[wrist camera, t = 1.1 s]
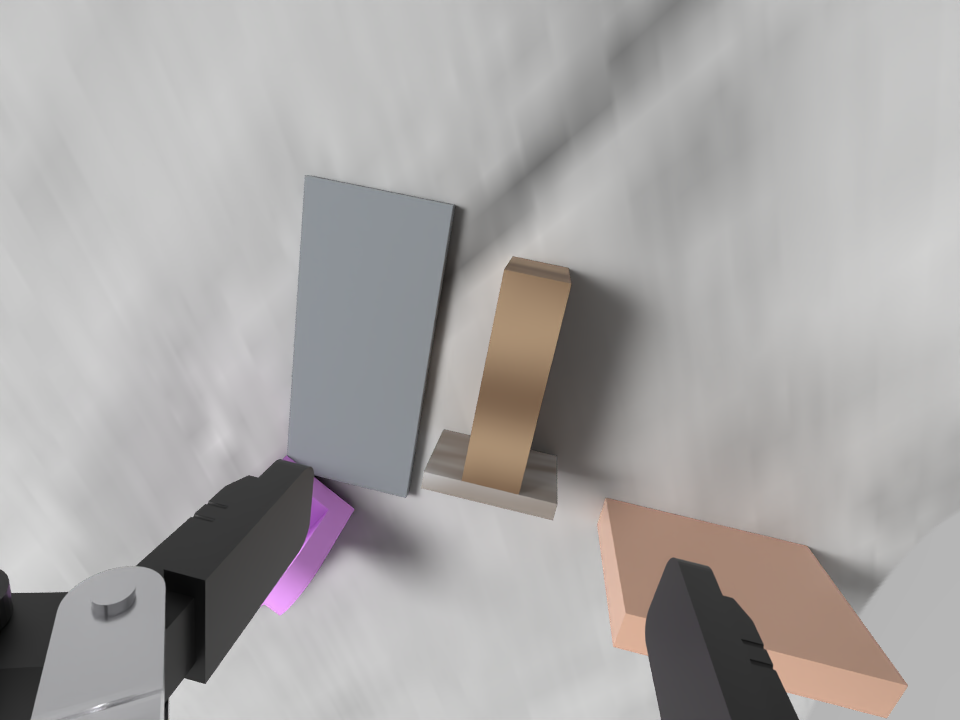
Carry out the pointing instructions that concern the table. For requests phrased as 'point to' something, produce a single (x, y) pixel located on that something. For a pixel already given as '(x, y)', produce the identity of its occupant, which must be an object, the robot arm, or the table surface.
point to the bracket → (311, 546)
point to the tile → (750, 602)
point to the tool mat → (364, 330)
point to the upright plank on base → (509, 401)
